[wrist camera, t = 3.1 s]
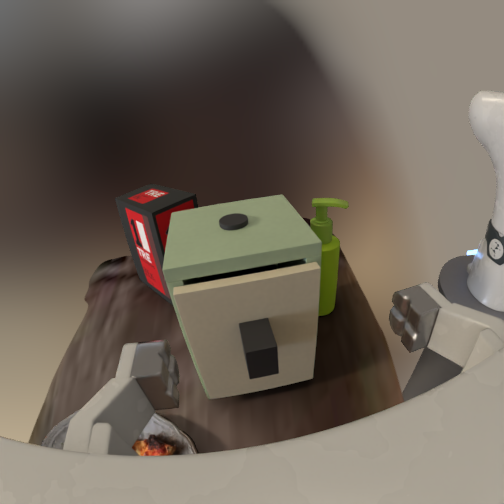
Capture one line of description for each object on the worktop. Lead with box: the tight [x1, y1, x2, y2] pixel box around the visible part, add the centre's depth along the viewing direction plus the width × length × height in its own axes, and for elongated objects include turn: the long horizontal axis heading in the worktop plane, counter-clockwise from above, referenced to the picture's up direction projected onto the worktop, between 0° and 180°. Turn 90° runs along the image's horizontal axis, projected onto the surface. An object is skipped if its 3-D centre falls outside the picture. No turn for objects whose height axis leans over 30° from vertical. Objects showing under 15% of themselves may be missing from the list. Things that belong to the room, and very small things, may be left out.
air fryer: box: [162, 195, 322, 399], centre depth 38 cm, size 14×15×23 cm
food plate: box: [41, 410, 199, 456], centre depth 23 cm, size 25×23×4 cm
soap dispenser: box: [311, 198, 349, 316], centre depth 47 cm, size 6×7×20 cm
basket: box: [173, 262, 320, 399], centre depth 35 cm, size 17×14×18 cm
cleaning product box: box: [115, 184, 198, 306], centre depth 57 cm, size 16×9×20 cm, turn 47°
